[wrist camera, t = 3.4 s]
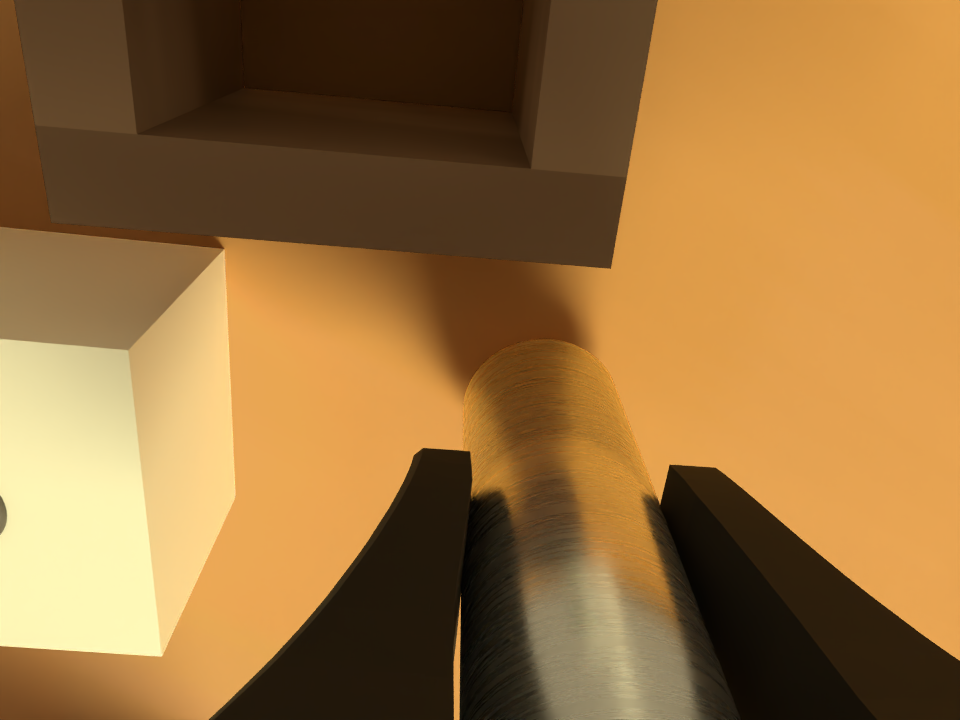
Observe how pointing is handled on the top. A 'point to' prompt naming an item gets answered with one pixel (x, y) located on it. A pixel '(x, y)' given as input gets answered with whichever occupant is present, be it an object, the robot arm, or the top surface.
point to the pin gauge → (572, 556)
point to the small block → (109, 437)
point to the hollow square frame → (333, 136)
